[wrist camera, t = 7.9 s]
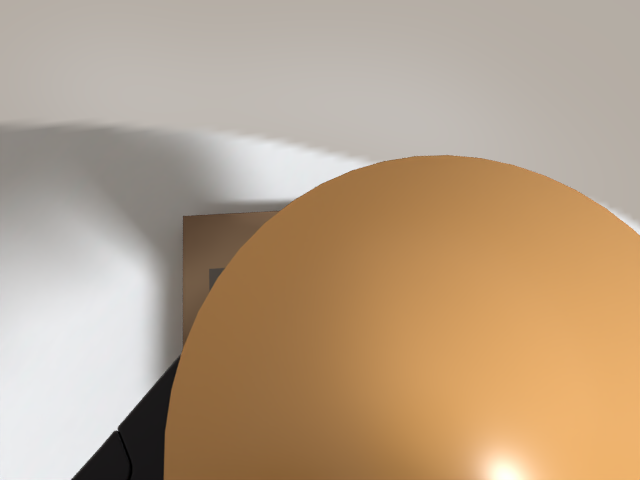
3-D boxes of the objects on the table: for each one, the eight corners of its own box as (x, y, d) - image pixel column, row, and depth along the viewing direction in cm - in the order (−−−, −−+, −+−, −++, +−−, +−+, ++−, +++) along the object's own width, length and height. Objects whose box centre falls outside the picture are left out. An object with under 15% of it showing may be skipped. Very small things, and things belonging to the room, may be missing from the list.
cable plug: (419, 327, 15) (792, 274, 4) (373, 458, 14) (714, 968, 3) (300, 277, 16) (311, 81, 4) (246, 402, 14) (38, 638, 3)
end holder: (462, 524, 20) (512, 580, 15) (189, 555, 19) (155, 624, 14) (420, 209, 24) (449, 178, 19) (188, 222, 23) (162, 193, 18)
